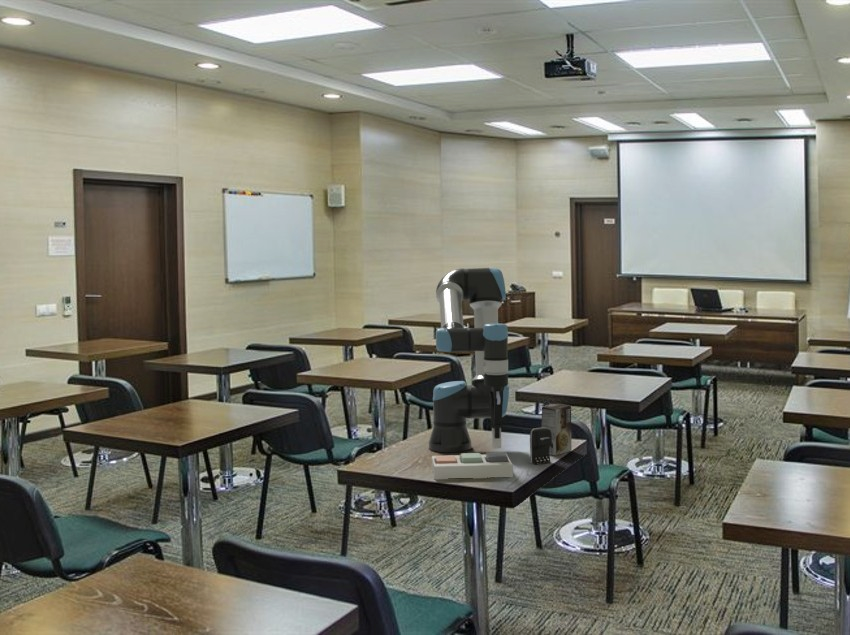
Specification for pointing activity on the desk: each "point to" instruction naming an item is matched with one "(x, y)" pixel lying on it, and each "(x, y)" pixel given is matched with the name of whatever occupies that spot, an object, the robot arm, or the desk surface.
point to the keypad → (471, 469)
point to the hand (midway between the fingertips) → (496, 447)
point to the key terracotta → (445, 459)
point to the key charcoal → (496, 457)
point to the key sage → (471, 458)
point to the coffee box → (558, 427)
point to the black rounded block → (540, 445)
